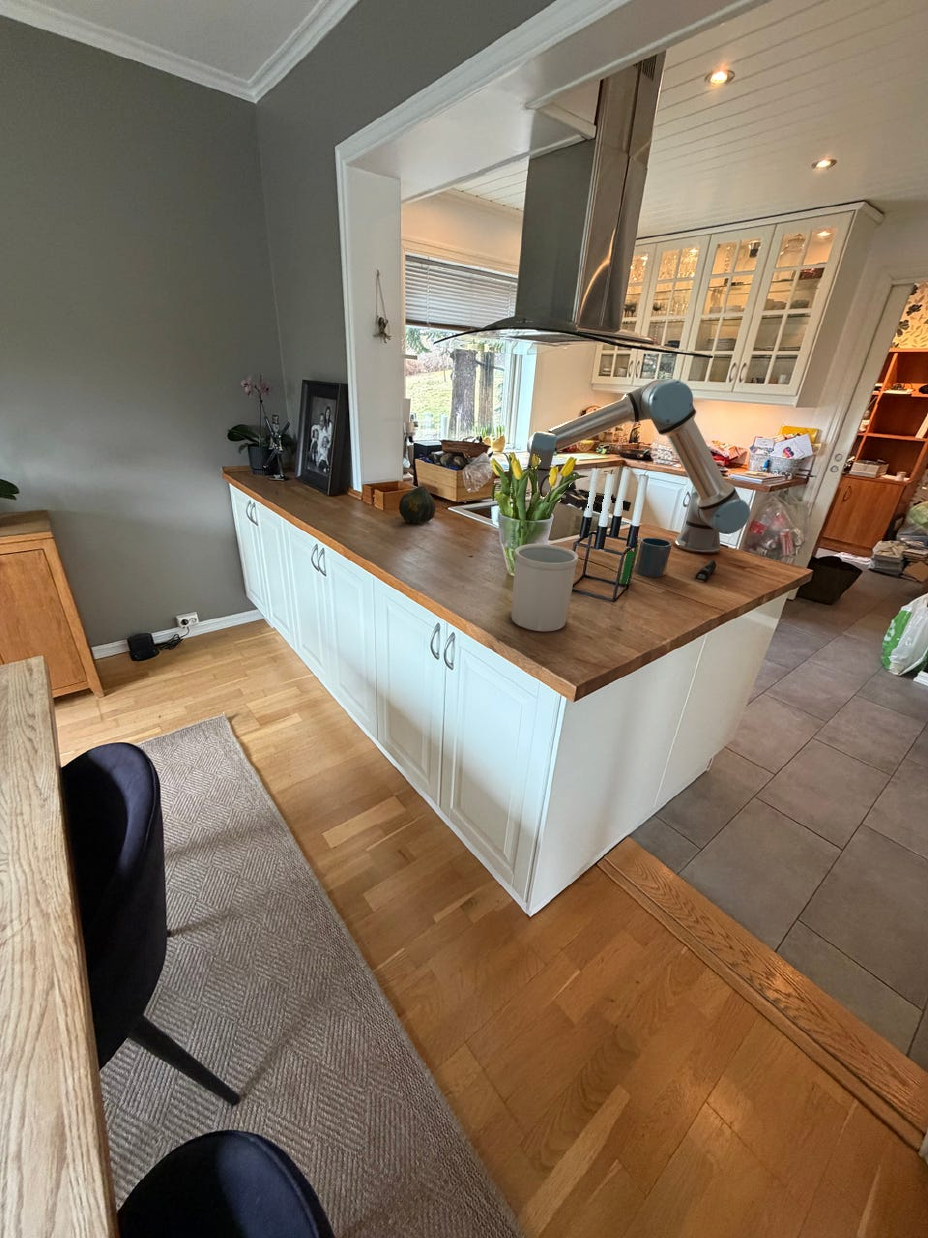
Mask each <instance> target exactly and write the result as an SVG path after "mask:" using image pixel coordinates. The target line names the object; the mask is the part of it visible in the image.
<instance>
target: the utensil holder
mask: <svg viewBox="0 0 928 1238" xmlns="http://www.w3.org/2000/svg"><path fill="white" fill-rule="evenodd" d="M514 559H515V560H514V572H513V584H512V597H511V598H512V599H511V611H510V615H511V617H510V618H511V620H512V622H514V624H515V625H517V626H519V627H521V628H523V629H527V630H529V631H533V632H553V631H557V630H560V629H562V628H563V627H564V626H566V624H567V622H566V621H567V620H568V615H569V609H570V603H571V598H572V592H573V585H574V580H575V575H576V574H575V573H576V570H577V569H576V568H577V564H578V562H579V554H578V553H577V552H576V551H574V550H572V549H569V548H568V547H567V548H566V547H563V546H559V545H555V544H547V543H529V544H523V545H520V546H518V547H516V548H515V550H514Z"/></svg>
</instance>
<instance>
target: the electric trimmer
mask: <svg viewBox="0 0 928 1238" xmlns="http://www.w3.org/2000/svg"><path fill="white" fill-rule="evenodd" d="M716 569H717V562H716V560H711V561H709V562H708V563H707V564H705V566H703V567H702V568H701V569H700V570H698V571H697V573H696V574H695V576H694V579H695V580H696V581H698V582H701V583H706V582H708V580H709V578H710V575H712V574H714V573H715V571H716Z"/></svg>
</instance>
